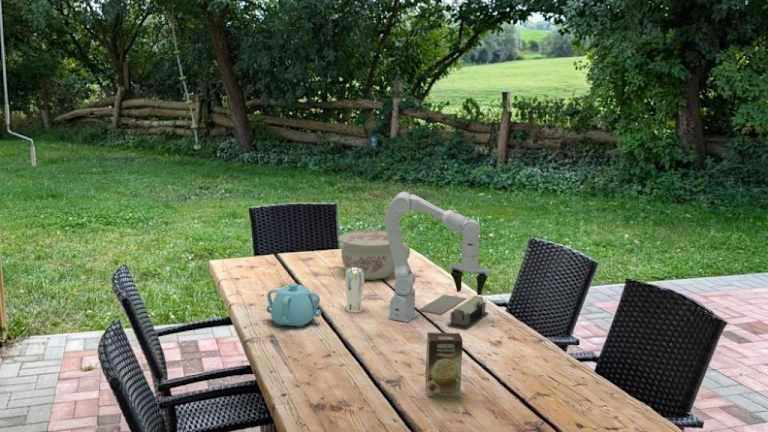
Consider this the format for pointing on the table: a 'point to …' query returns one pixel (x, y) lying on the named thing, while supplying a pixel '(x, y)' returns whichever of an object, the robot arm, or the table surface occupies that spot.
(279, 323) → the decorative pot
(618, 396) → the table surface
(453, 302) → the pad
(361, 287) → the beer glass
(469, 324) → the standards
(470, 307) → the rail
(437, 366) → the coffee box
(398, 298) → the robot arm
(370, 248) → the chamber pot
